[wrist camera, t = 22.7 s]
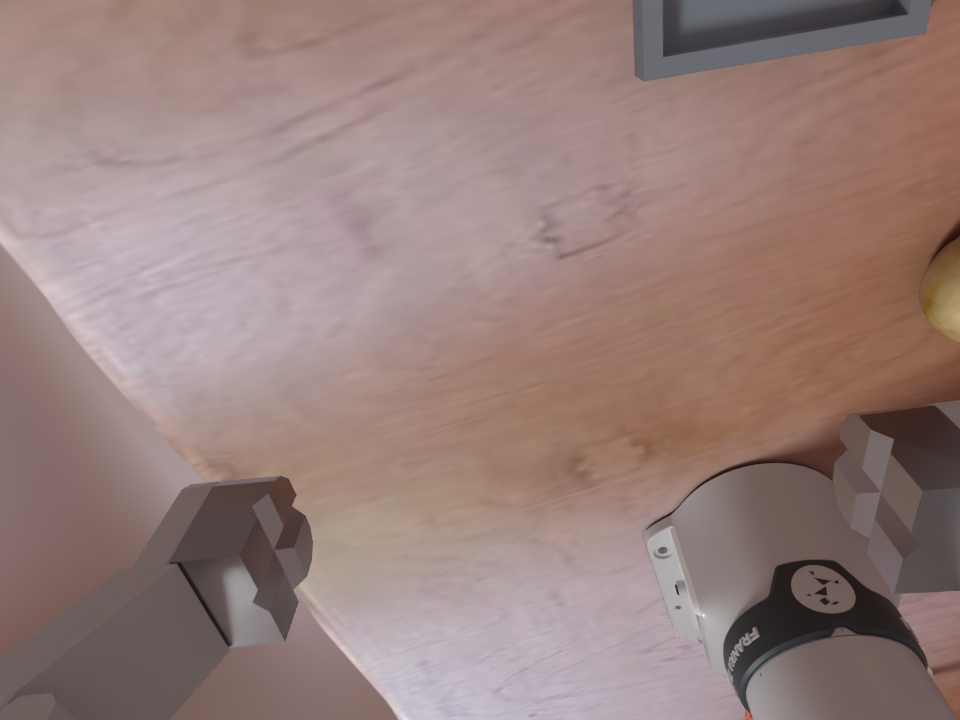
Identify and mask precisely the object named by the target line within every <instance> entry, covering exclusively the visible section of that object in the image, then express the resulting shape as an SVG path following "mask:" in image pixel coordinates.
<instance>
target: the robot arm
mask: <svg viewBox="0 0 960 720" xmlns="http://www.w3.org/2000/svg"><path fill="white" fill-rule="evenodd" d="M839 438H840V439H841V441H842V442H843V443H844V445H845V446H846V447H847V450H846V451H845V452H844V453H843V454H842V455H841V456H840V457H839V458H838V459H837V460H836V461H835V464H834V472H833V481H831V480H830V479H829V478H828V477H826V476H825V475H823V474H821V473H819V472H817V471H815V470H813V469H810V468H807V467H804V466H799V465H794V464H786V463H766V464H757V465H751V466H746V467H742V468H739V469H735V470H732V471H729V472H727V473H724V474H722V475H720V476H718V477H716V478H714V479H712V480H710V481H708V482H707V483H705V484H703V485H702V486H701V487H699V488H698V489H697V490H695V491H694V492H693V493H692V494H691V495H690V496H689V497H688V498H687V499H686V500H685V501H684V502H683V503H682V504H681V505H680V506H679V508H678V509H677V510H676V511H675V512H674V513H673V514H671V515H670V516H668V517H666V518H664V519H663V520H661V521H659V522H657V523H655V524H654V525H652V526H651V527H649V528H648V529H647V530H646V531H645V533H644V540H645V543H646V546H647V549H648V552H649V555H650V558H651V561H652V564H653V567H654V570H655V573H656V576H657V579H658V583H659V586H660V589H661V592H662V595H663V598H664V601H665V604H666V607H667V610H668V613H669V616H670V619H671V622H672V625H673V627H674V630H675V632H676V634H677V636H678V637H679V638H682V639H685V640H688V641H691V642H696V643H701V644H703V646H704V649H705V652H706V656H707V659H708V662H709V665H710V667H711V669H712V670H713V671H714V672H715V673H717V674H719V675H721V676H723V677H726V678H729V679H730V682H731V684H732V687H733V689H734V691H735V693H736V695H737V696H738V698H739V699H740V700H741V703H742V704H743V706H744V708H745V709H746V710H745V719H746V720H959V719H958V718H957V716H956V715H955V713H954V712H953V710H952V709H951V707H950V706H949V704H948V702H947V701H946V699H945V698H944V696H943V695H942V693H941V692H940V690H939V689H938V687H937V686H936V684H935V683H934V681H933V679H932V678H931V676H930V675H929V673H928V672H927V670H928V664H927V659H926V656H925V654H924V652H923V651H922V649H921V647H920V646H919V644H918V643H919V641H918V639H917V637H916V635H915V634H914V632H913V630H912V629H911V627H910V626H909V624H908V623H907V622H906V621H905V620H904V619H903V617H902V616H901V614H900V613H899V611H898V610H897V608H898V605H899V601H900V599H901V598H902V594H904V593H923V592H942V591H960V400H955V401H947V402H940V403H932V404H926V405H924V406H915V407H906V408H897V409H888V410H880V411H871V412H862V413H854V414H847V416H846V417H845V419H844V421H843V422H842V425H841V430H840V435H839ZM295 497H296V493H295V491H294V489H293V487H292V485H291V483H290V481H289V479H288V478H285V477H282V476H274V477H262V478H250V479H239V480H227V481H221V482H210V483H198V484H191V485H189V486H187V487H186V488H184V489H182V490H181V492H180V494H179V495H178V497H177V498H176V500H175V501H174V503H173V504H172V506H171V507H170V509H169V511H168V512H167V514H166V515H165V517H164V518H163V520H162V521H161V523H160V525H159V526H158V528H157V529H156V531H155V532H154V534H153V535H152V537H151V539H150V540H149V542H148V543H147V545H146V546H145V548H144V549H143V551H142V553H141V554H140V556H139V557H138V559H137V560H136V562H135V563H134V565H133V567H132V568H124V569H121V570H119V571H118V572H117V573H115V574H114V575H112V576H111V577H110V578H108V579H107V580H106V581H104V582H103V583H102V584H100V585H99V586H97V587H96V588H95V589H93V590H92V591H91V592H89V593H88V594H86V595H85V596H84V597H82V598H81V599H80V600H78V601H77V602H75V603H74V604H73V605H71V606H70V607H69V608H67V609H66V610H64V611H63V612H62V613H60V614H59V615H58V616H56V617H55V618H54V619H52V620H51V621H49V622H48V623H47V624H45V625H44V626H42V627H41V628H40V629H38V630H37V631H36V632H34V633H33V634H32V635H30V636H29V637H27V638H26V639H25V640H23V641H22V642H21V643H19V644H18V645H17V646H15V647H14V648H12V649H11V650H10V651H8V652H7V653H5V654H4V655H3V656H2V657H0V720H170V719H171V717H172V716H173V715H174V714H175V713H176V712H177V711H178V709H179V708H180V707H181V706H182V705H183V704H184V703H185V701H186V700H187V699H188V698H189V697H190V696H191V695H192V693H193V692H194V691H195V690H196V689H197V688H198V686H200V684H201V683H202V682H203V681H204V680H205V679H206V678H207V676H208V675H209V674H210V673H211V672H212V671H213V670H214V669H215V667H216V666H217V665H218V664H219V663H220V662H221V661H222V659H223V658H224V657H225V656H226V654H228V652H229V651H230V649H229V648H230V647H239V646H248V645H258V644H267V643H276V642H285V640H286V638H287V635H288V631H289V629H290V626H291V623H292V620H293V617H294V613H295V611H296V608H297V604H298V600H297V597H296V595H295V593H294V591H293V589H294V588H295V587H296V586H297V585H298V584H300V583H301V582H302V581H303V580H304V579H305V578H306V577H307V574H308V571H309V568H310V564H311V561H312V547H313V540H312V535H311V529H310V526H309V523H308V521H307V518H306V516H305V515H304V514H302V513H301V512H299V511H298V510H296V509H295V508H293V507H292V504H293V502H294V499H295Z"/></svg>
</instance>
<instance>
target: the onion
mask: <svg viewBox="0 0 960 720" xmlns="http://www.w3.org/2000/svg"><path fill="white" fill-rule="evenodd" d="M919 299H920V305H921V308H922V311H923V313H924V314H925V316H926V318H927V319H928V321H929V322H930V324H931V325H932V326H933V327H934V328H935V329H936V330H938V331H939V332H940V333H942V334H943V335H945V336H946V337H948V338H950V339H952V340H954V341H956V342H959V343H960V235H959V236H958V237H957V239H955V240H953V241H952V242H950V243H948V244H947V245H946V246H945V247H944V248H943V249H942V250H941V251H940V252H939V253H938V254H937V255H936V256H935V258H934V259H933V260H932V262H931V263H930V265H929V266H928V268H927V270H926V271H925V273H924V275H923V278H922V281H921V285H920V290H919Z"/></svg>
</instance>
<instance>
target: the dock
mask: <svg viewBox="0 0 960 720" xmlns="http://www.w3.org/2000/svg"><path fill="white" fill-rule="evenodd" d="M931 1H932V0H633V21H634V55H635V76H637V77H638V78H640V79H641V80H643V81H649V80H654V79H660V78H666V77H672V76H678V75H684V74H690V73H696V72H702V71H707V70H713V69H719V68H725V67H731V66H737V65H743V64H749V63H754V62H760V61H766V60H772V59H778V58H784V57H790V56H796V55H801V54H807V53H813V52H819V51H825V50H831V49H837V48H843V47H849V46H854V45H860V44H866V43H872V42H878V41H884V40H890V39H896V38H901V37H907V36H913V35H919V34H925V33H926V28H927V23H928V17H929V12H930V7H931Z"/></svg>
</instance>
